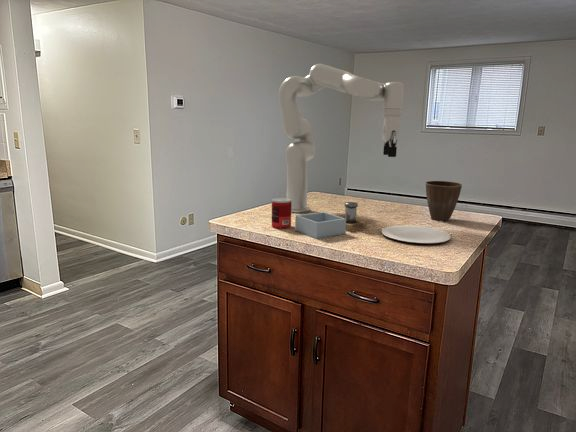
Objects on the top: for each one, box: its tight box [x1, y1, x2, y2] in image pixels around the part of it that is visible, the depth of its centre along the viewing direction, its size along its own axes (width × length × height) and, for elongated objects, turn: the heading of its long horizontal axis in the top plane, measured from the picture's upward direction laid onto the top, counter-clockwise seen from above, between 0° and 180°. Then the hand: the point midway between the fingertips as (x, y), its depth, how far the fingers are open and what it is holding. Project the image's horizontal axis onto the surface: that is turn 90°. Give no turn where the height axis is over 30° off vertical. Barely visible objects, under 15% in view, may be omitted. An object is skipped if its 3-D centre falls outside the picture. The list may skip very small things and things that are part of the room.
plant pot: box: [425, 180, 463, 222], centre depth 193 cm, size 15×15×16 cm
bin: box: [294, 211, 347, 240], centre depth 169 cm, size 14×14×6 cm
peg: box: [344, 201, 359, 224], centre depth 176 cm, size 5×5×10 cm
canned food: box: [271, 197, 292, 230], centre depth 176 cm, size 8×8×11 cm
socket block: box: [346, 219, 367, 232], centre depth 177 cm, size 9×9×2 cm
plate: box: [381, 224, 452, 245], centre depth 166 cm, size 25×25×2 cm
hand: (389, 155), depth 185 cm, fingers open, 9 cm apart
